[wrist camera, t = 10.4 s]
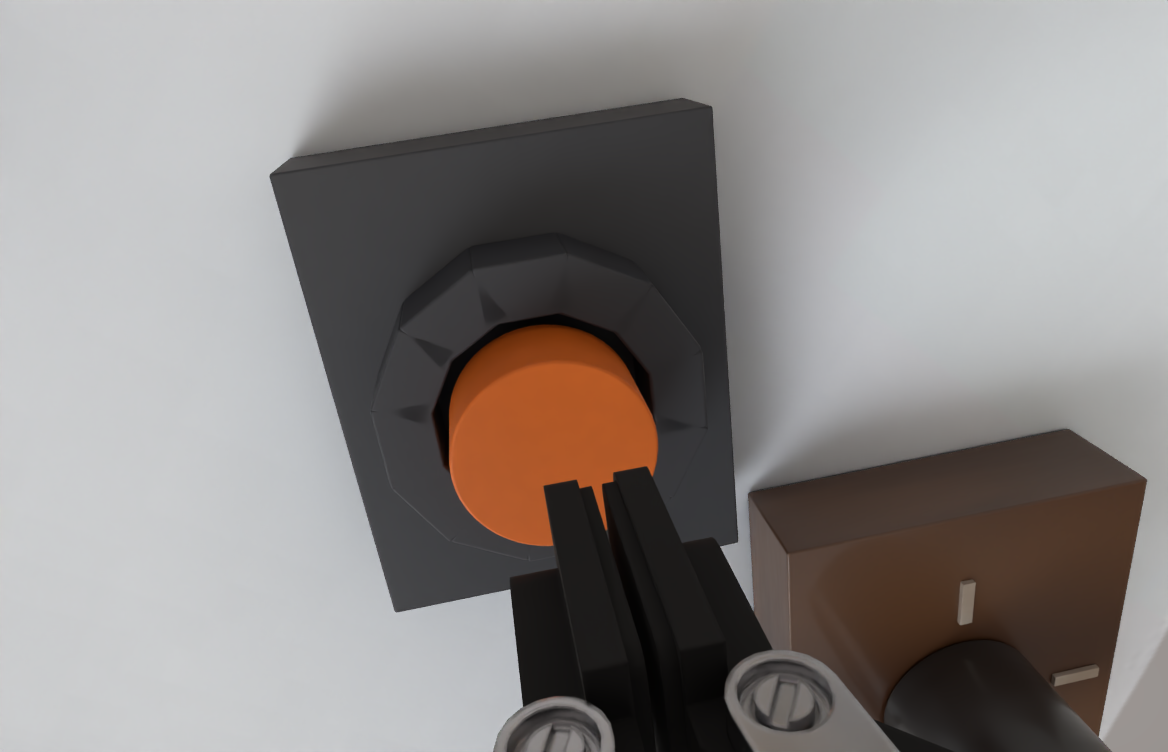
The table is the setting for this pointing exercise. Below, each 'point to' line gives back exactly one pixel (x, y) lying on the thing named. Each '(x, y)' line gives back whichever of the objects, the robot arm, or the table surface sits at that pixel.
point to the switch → (543, 426)
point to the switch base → (513, 309)
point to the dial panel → (953, 564)
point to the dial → (986, 704)
